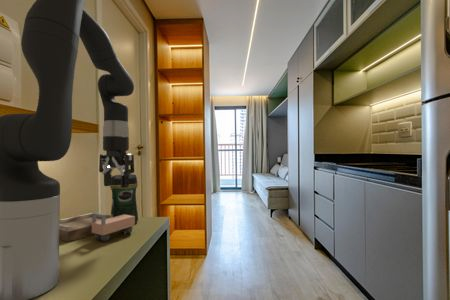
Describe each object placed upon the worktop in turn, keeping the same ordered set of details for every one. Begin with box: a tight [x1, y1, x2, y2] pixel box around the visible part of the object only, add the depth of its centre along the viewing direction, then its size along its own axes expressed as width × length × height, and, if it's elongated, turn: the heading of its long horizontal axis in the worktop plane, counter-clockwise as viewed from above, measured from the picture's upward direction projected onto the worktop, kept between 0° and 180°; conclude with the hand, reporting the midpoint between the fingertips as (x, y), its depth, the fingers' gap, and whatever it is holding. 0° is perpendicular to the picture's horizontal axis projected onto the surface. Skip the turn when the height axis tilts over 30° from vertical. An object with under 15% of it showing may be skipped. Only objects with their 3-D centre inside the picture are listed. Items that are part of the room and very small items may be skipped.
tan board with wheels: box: [91, 212, 136, 243], centre depth 71 cm, size 11×6×8 cm, turn 151°
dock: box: [59, 211, 113, 243], centre depth 77 cm, size 15×12×4 cm
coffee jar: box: [109, 173, 139, 224], centre depth 86 cm, size 10×8×19 cm
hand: (116, 186), depth 72 cm, fingers open, 8 cm apart
